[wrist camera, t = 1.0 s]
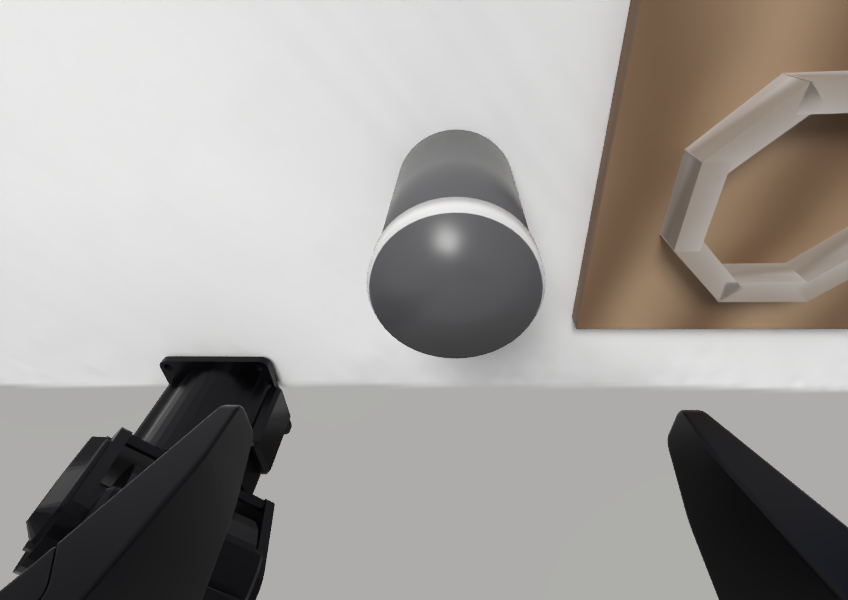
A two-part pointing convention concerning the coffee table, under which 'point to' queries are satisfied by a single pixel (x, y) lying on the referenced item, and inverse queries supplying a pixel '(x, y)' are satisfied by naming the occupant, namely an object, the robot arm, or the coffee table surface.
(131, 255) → the coffee table surface
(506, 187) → the lens cylinder
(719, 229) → the collar holder
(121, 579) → the robot arm
